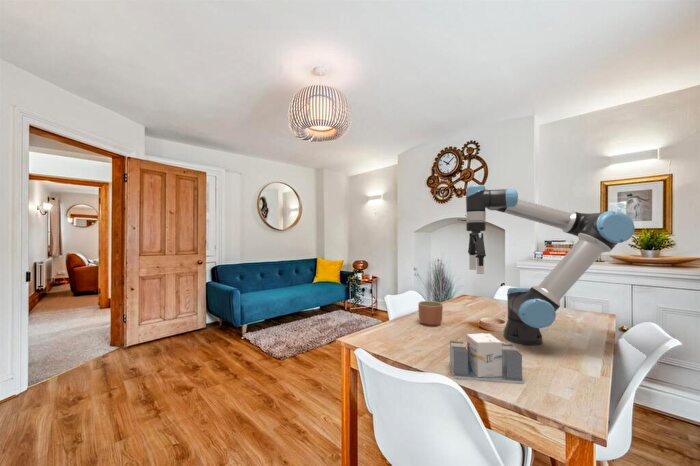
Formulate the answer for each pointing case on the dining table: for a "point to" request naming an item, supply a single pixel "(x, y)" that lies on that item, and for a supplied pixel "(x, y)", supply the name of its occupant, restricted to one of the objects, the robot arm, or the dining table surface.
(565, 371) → the dining table surface
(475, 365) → the ink box
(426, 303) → the planter
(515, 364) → the grey box holder
